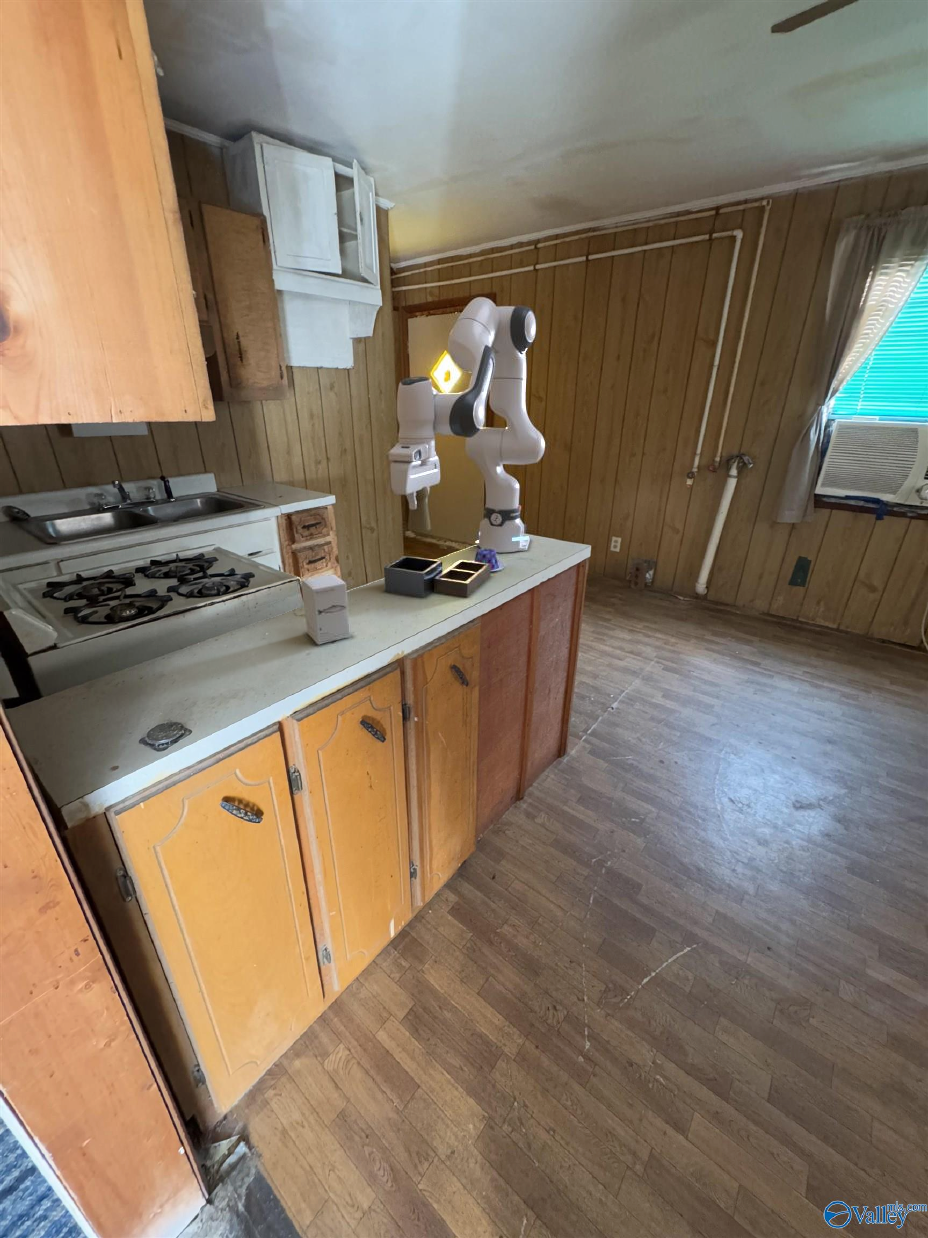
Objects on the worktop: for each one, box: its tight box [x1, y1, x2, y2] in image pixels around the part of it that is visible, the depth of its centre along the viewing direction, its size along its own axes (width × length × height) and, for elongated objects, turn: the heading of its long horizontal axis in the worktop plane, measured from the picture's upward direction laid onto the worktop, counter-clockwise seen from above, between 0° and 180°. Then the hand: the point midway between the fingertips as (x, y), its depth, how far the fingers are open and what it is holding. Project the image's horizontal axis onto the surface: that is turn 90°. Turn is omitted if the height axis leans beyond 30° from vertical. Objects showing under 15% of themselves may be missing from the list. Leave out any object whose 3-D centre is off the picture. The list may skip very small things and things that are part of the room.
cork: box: [407, 487, 432, 533], centre depth 128 cm, size 6×6×11 cm
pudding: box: [471, 548, 507, 572], centre depth 153 cm, size 12×12×5 cm
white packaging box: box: [300, 573, 351, 645], centre depth 107 cm, size 7×7×13 cm
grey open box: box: [383, 555, 443, 599], centre depth 136 cm, size 12×12×7 cm
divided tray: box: [433, 559, 492, 598], centre depth 139 cm, size 18×10×4 cm, turn 158°
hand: (418, 506), depth 128 cm, fingers closed on cork, 4 cm apart
